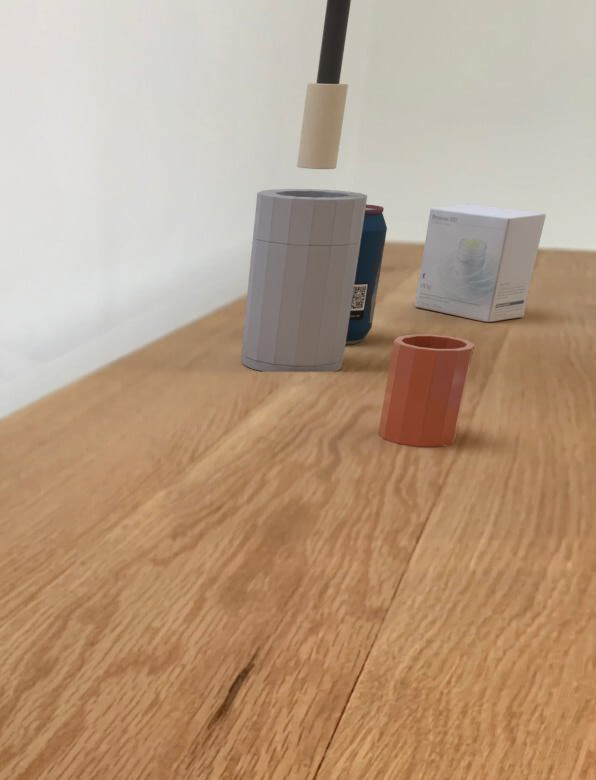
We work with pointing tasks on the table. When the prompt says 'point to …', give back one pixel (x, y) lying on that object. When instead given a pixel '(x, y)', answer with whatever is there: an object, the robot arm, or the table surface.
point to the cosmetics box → (478, 261)
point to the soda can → (367, 274)
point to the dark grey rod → (326, 95)
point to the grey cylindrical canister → (301, 279)
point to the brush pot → (425, 390)
